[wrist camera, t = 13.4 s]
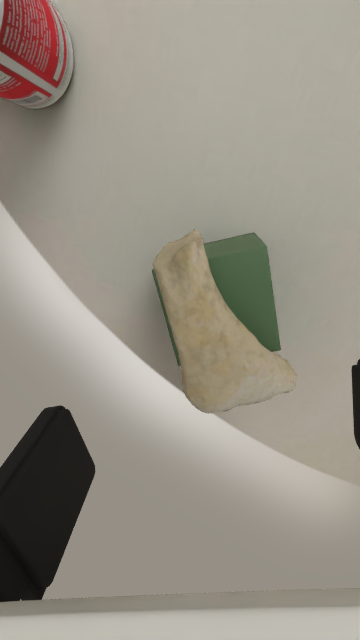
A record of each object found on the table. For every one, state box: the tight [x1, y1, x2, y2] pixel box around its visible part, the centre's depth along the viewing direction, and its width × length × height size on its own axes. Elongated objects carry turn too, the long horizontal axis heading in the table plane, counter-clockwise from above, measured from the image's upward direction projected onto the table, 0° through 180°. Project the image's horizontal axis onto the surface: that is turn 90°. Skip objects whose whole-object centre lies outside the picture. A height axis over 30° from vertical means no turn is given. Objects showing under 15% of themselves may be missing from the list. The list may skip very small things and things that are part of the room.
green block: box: [152, 233, 281, 366], centre depth 22 cm, size 7×7×6 cm
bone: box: [153, 229, 296, 413], centre depth 18 cm, size 11×6×5 cm, turn 37°
